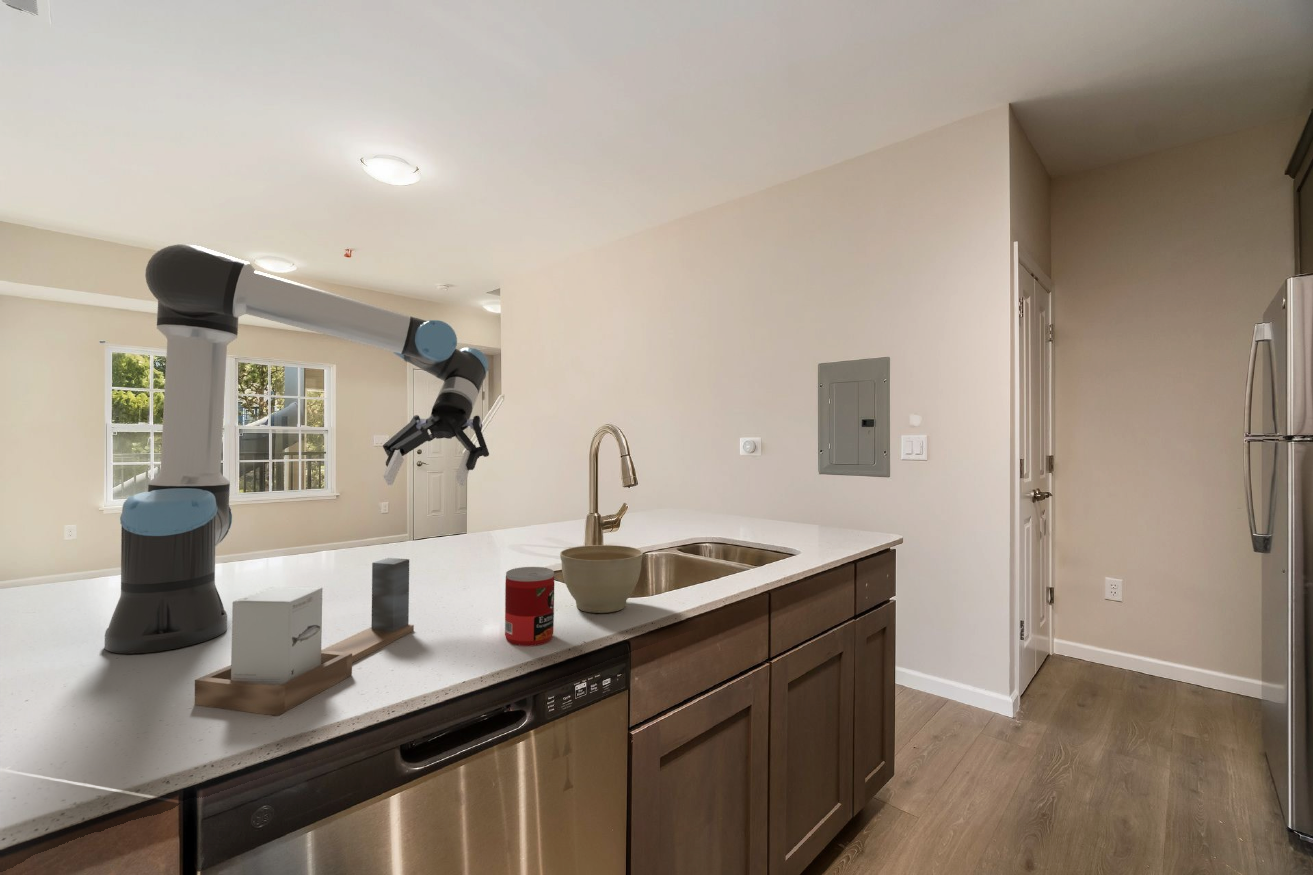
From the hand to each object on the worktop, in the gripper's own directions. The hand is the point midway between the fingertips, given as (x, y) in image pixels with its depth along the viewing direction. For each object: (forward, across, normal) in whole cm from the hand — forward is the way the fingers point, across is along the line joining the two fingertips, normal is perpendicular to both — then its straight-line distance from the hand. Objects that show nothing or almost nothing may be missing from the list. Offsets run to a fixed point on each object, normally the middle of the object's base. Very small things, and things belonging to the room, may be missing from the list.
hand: (423, 481), depth 107 cm
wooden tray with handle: (+34, +3, 0) cm, 34 cm away
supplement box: (+41, +4, +6) cm, 41 cm away
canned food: (+26, -23, -10) cm, 36 cm away
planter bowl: (+13, -32, -23) cm, 41 cm away
